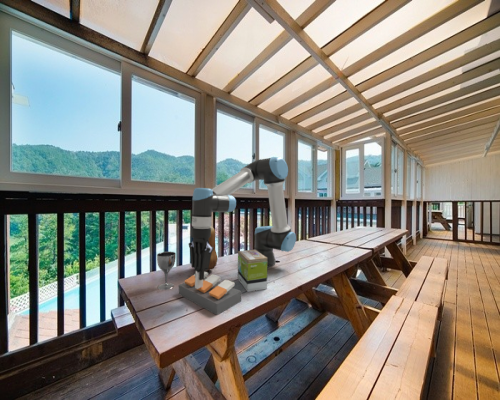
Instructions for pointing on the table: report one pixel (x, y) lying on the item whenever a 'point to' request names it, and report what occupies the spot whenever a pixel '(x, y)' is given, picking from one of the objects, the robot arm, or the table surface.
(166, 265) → the wine glass
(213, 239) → the butternut squash
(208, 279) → the switch middle
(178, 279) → the table surface
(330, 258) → the table surface
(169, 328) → the table surface
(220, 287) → the switch
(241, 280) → the tea box
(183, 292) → the power strip
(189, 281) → the switch
